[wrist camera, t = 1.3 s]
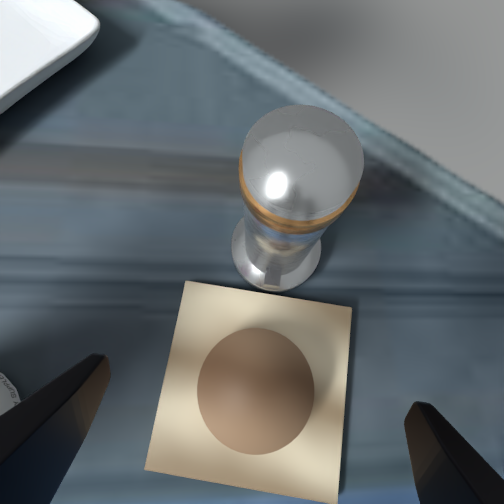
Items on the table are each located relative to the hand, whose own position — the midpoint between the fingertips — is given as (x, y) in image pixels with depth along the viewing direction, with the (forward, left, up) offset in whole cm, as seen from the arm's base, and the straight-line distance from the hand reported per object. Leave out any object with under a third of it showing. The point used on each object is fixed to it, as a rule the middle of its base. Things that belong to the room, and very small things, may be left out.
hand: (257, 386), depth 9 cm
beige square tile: (-1, 0, -13) cm, 13 cm away
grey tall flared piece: (+8, -2, -13) cm, 16 cm away
